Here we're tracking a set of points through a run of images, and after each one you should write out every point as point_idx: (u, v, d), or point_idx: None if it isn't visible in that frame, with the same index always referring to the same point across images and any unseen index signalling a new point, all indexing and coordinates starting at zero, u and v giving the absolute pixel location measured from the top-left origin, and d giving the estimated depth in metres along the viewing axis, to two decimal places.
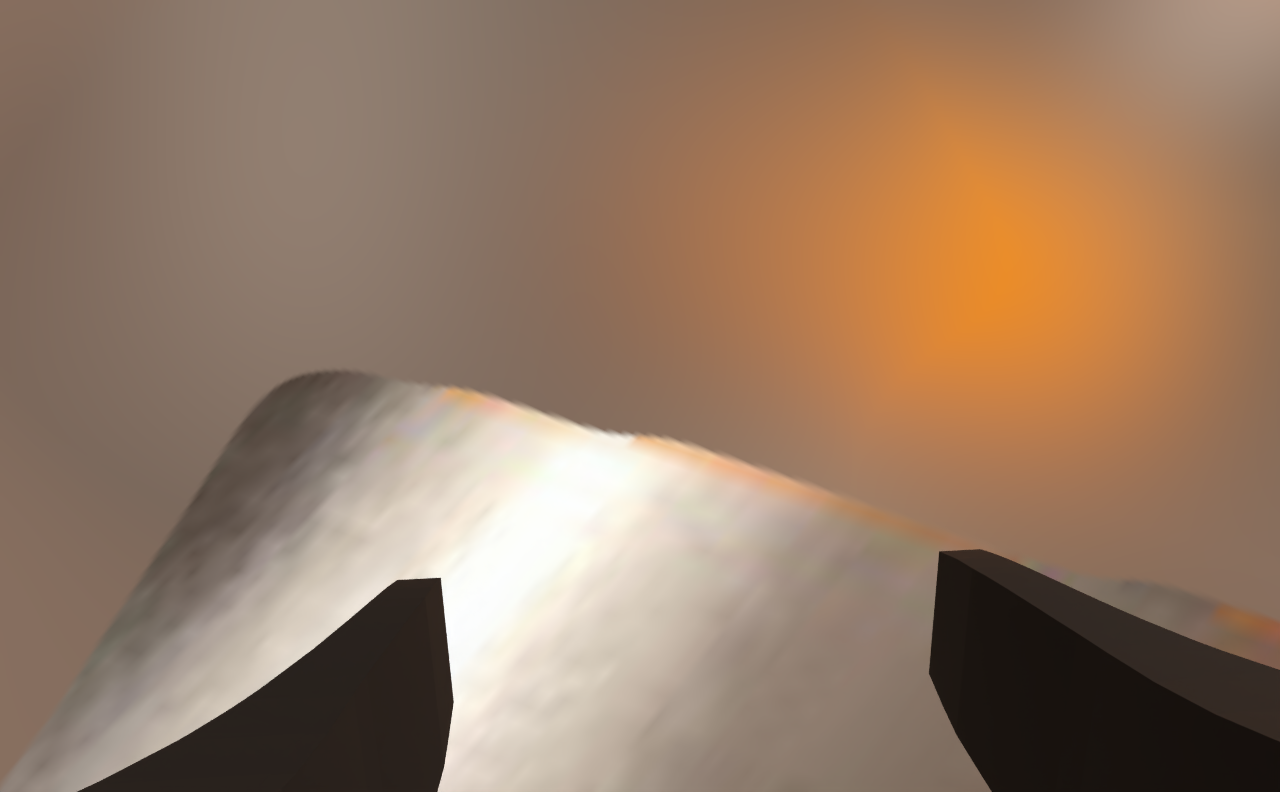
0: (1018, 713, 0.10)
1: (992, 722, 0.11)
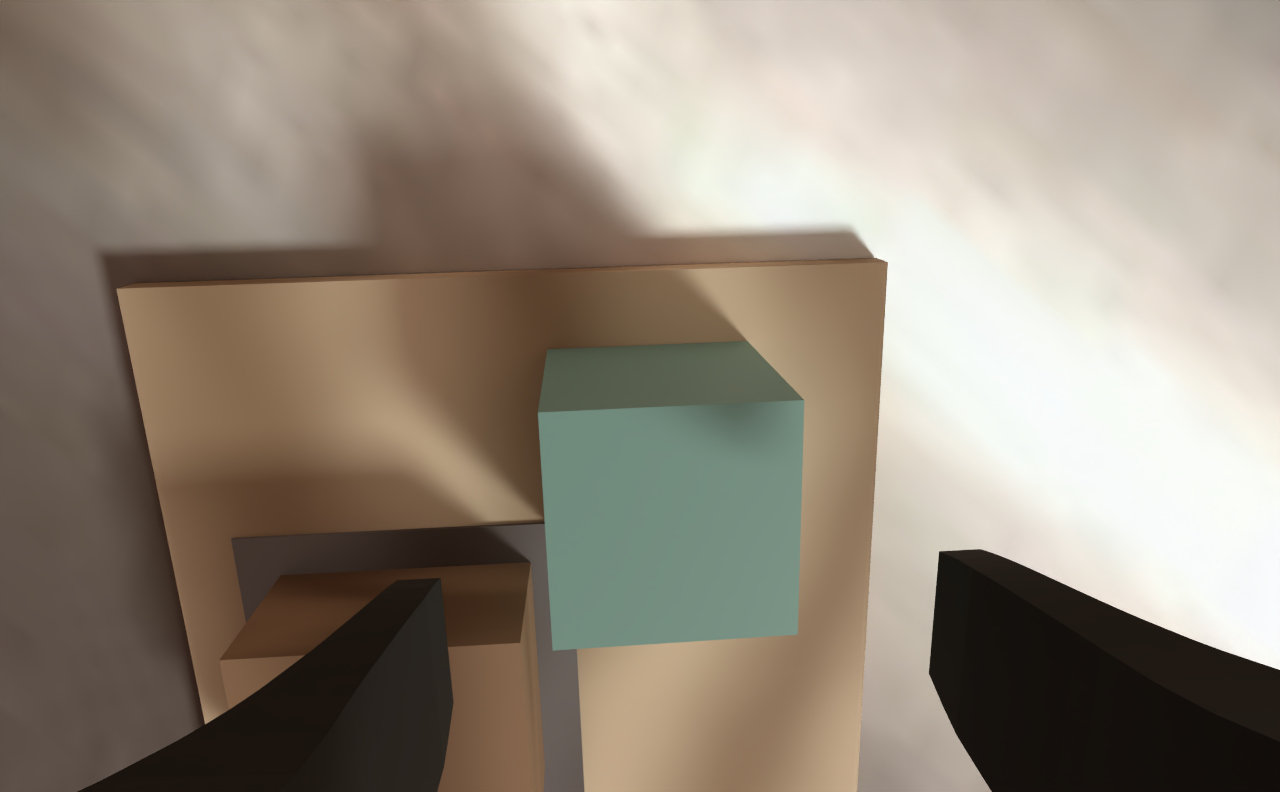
0: (1018, 713, 0.10)
1: (992, 722, 0.11)
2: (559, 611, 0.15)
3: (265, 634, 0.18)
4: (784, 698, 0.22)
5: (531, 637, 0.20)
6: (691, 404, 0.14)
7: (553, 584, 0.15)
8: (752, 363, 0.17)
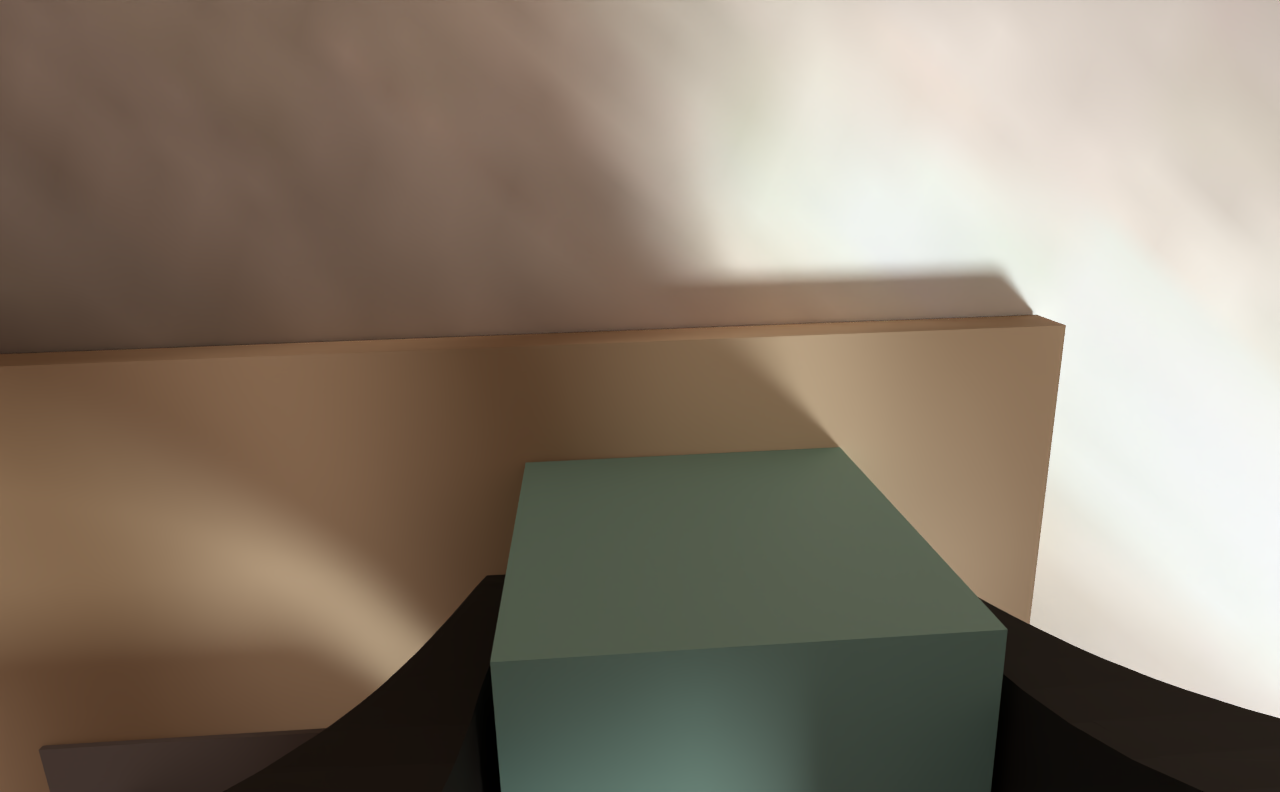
0: None
1: None
2: None
3: None
4: None
5: None
6: (789, 641, 0.07)
7: None
8: (867, 507, 0.10)
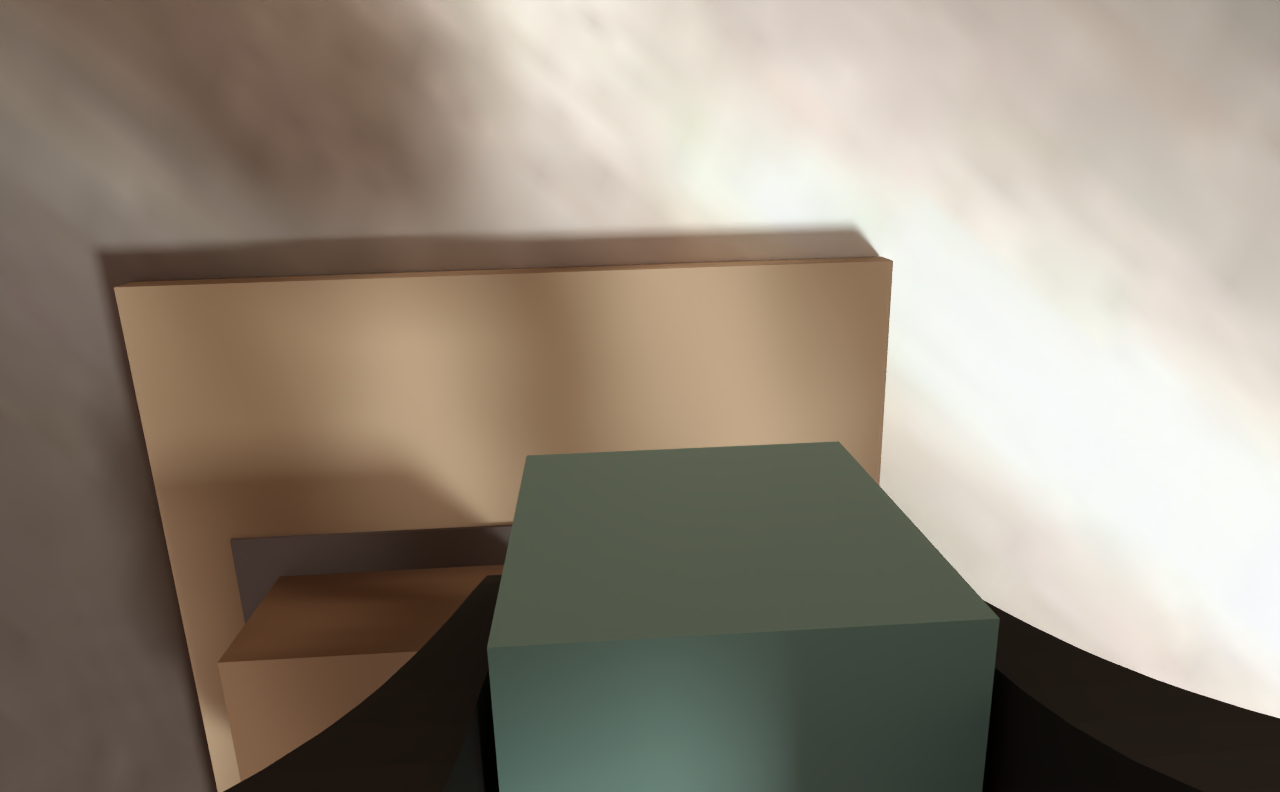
0: None
1: None
2: None
3: (264, 636, 0.17)
4: None
5: None
6: (781, 628, 0.07)
7: None
8: (864, 500, 0.10)
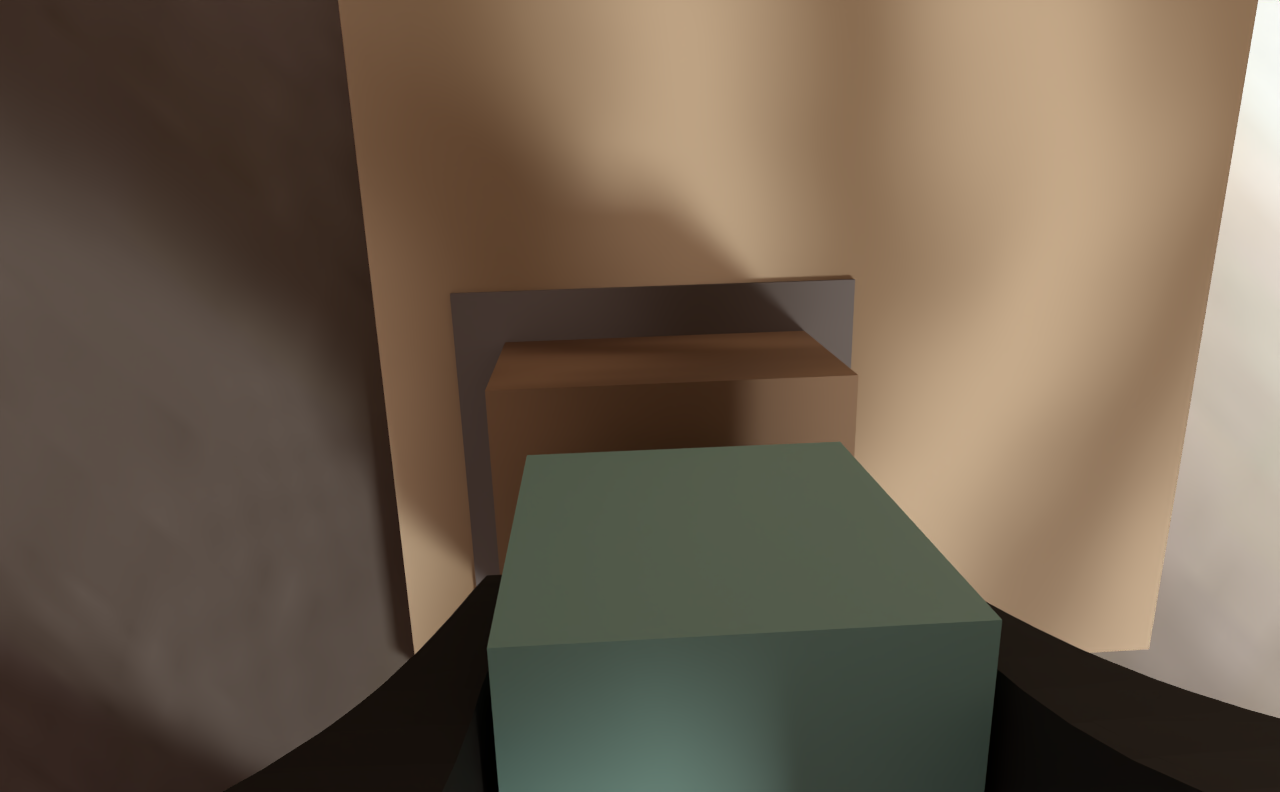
0: None
1: None
2: None
3: (526, 375, 0.14)
4: (1080, 513, 0.19)
5: None
6: (783, 630, 0.07)
7: None
8: (865, 500, 0.10)
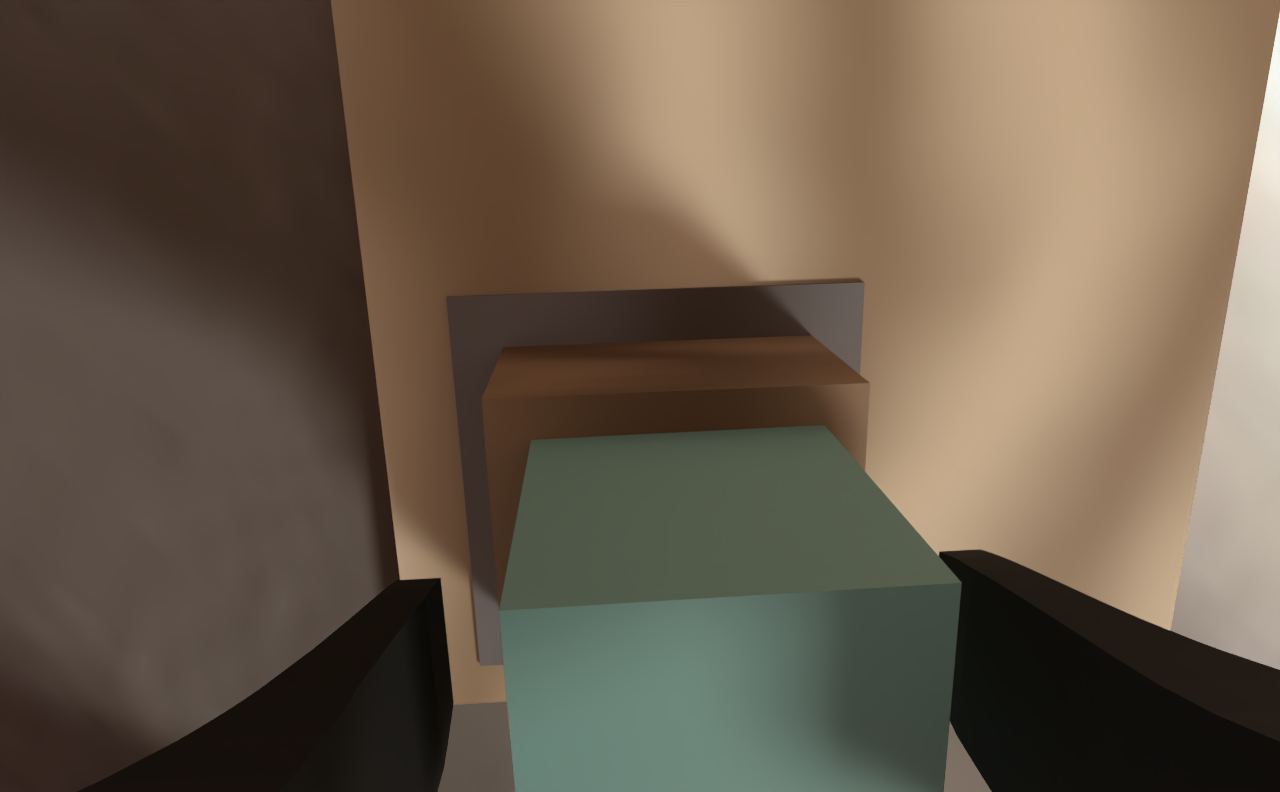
0: (1018, 713, 0.10)
1: (992, 722, 0.11)
2: None
3: (524, 382, 0.14)
4: (1095, 523, 0.18)
5: None
6: (765, 592, 0.08)
7: None
8: (845, 478, 0.11)
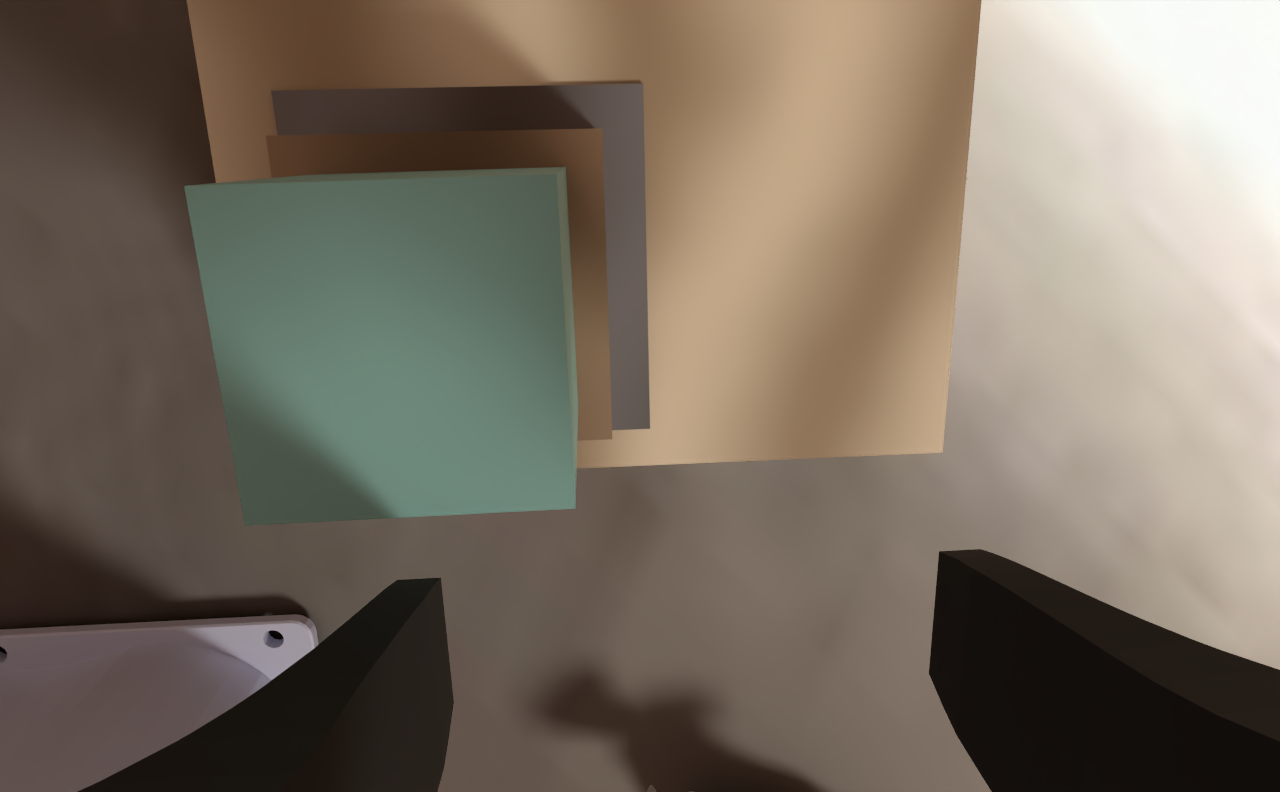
0: (1018, 713, 0.10)
1: (992, 722, 0.11)
2: (247, 471, 0.11)
3: None
4: (869, 317, 0.20)
5: None
6: (399, 178, 0.10)
7: (236, 434, 0.11)
8: None
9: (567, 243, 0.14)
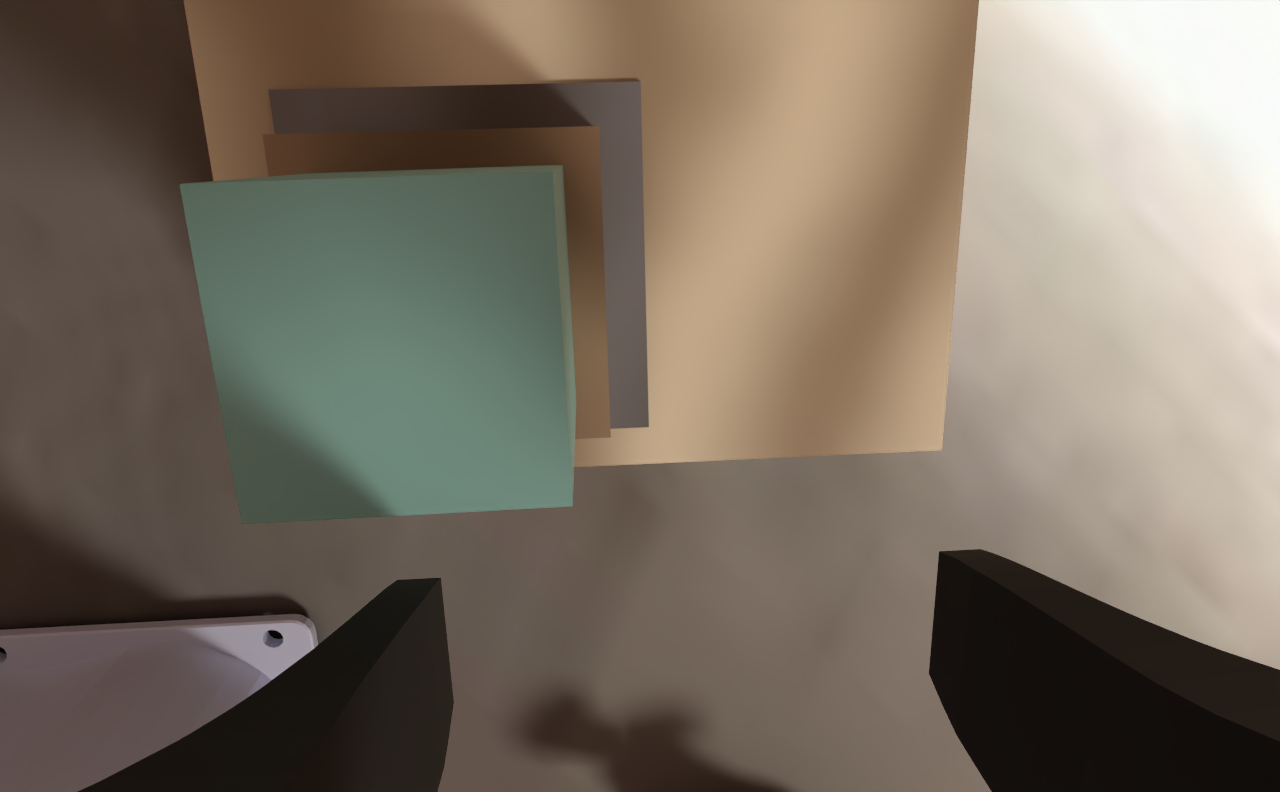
0: (1018, 713, 0.10)
1: (992, 722, 0.11)
2: (244, 470, 0.11)
3: None
4: (867, 315, 0.20)
5: None
6: (394, 176, 0.10)
7: (232, 432, 0.11)
8: (538, 167, 0.13)
9: (564, 241, 0.14)
